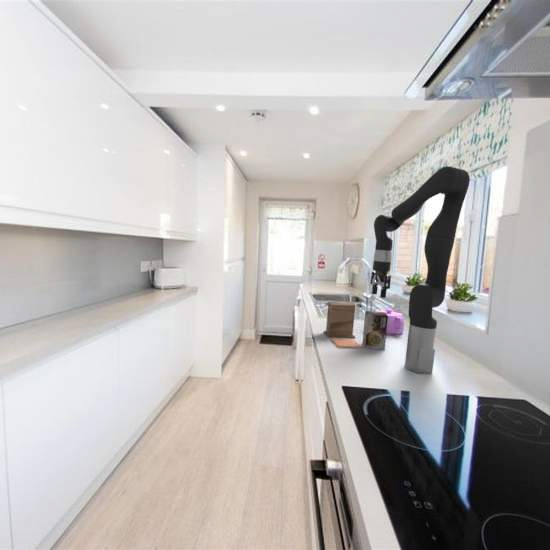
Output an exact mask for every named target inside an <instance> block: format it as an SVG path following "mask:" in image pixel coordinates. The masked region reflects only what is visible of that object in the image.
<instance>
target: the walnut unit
mask: <svg viewBox="0 0 550 550" xmlns="http://www.w3.org/2000/svg"><path fill="white" fill-rule="evenodd" d="M355 313H356V304H353V303H351V302H340V301H339V302H337V301H336V302H335V301H334V302H333V301H328V303H327V316H326V326H325V327H326V329H325V330H323V334H324V335H325V336H326V337H327V338H330V339H331V338H342V339H356V335H354V325H355V324H354V323H355Z"/></svg>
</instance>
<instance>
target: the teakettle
mask: <svg viewBox="0 0 550 550" xmlns="http://www.w3.org/2000/svg"><path fill="white" fill-rule="evenodd" d="M373 312H385V313H386V314H387V315H388V320H387V331H386V336H393V335H403V334H404V329H405V322H404V321H405V318H404V314H403V313H400V312H399V313H398V312H396V311H395V312H394V311H393V309H391V308H387V309H386V310H373Z"/></svg>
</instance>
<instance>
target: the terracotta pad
mask: <svg viewBox="0 0 550 550" xmlns="http://www.w3.org/2000/svg"><path fill="white" fill-rule="evenodd" d="M330 340H331V342H333V343H335V344H336V345H335V344H334V345H335V346H336V347H337V348H339V349H363V345H361V344H360V343H358V342H357V341H356V340H355V338H330Z"/></svg>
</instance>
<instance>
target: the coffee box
mask: <svg viewBox="0 0 550 550" xmlns="http://www.w3.org/2000/svg"><path fill="white" fill-rule="evenodd" d="M387 320H388V315H387V314H386V313H385V312H374V310H373V311H372V310H365V312H364V322H363V332H362V333H363V334H362V347H363V348H364V347H365V348H364V349H370V348H371V349H373V350H383V351H384V350H386V342H387V341H386V340H387V339H386V338H387V335H386V331H387ZM371 349H370V350H371Z"/></svg>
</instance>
